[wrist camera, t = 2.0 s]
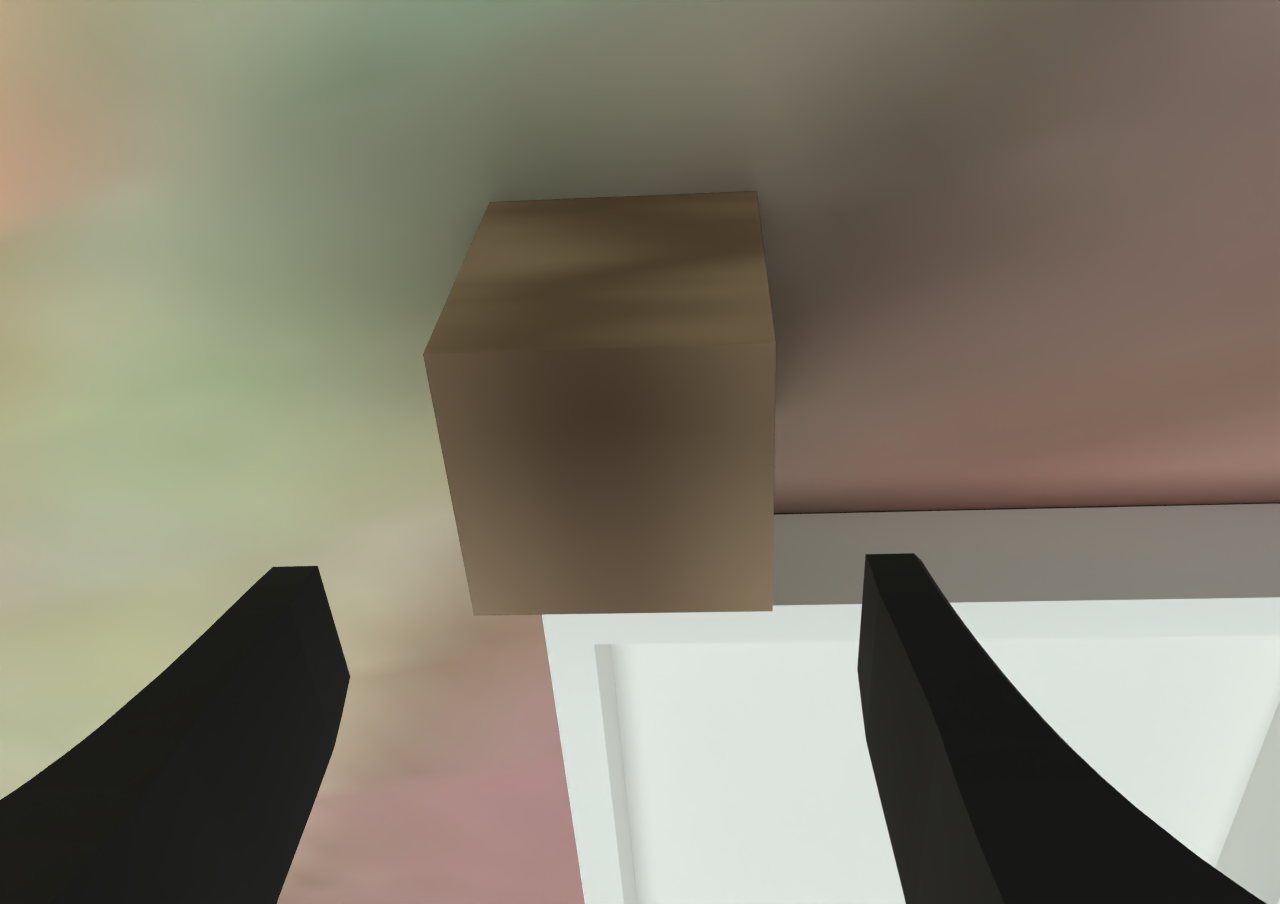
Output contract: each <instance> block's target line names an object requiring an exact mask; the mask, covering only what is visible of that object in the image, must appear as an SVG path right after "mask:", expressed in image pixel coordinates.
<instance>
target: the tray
mask: <svg viewBox="0 0 1280 904" xmlns="http://www.w3.org/2000/svg"><path fill="white" fill-rule="evenodd" d="M900 553H914V554H915V555H916V556H917V557H918V558H920V559H921V560H922V562H923V563H924V565H925V567H926V568H927V570H928V572H929V573H930V575H931V576H932V578H933V579H934V581H935V582H936V584H937V585H938V587H939V588H940V590H941V591H942V593H943V594H944V596H945V597H946V599H947V600H948V601H949V603H950V604H951V606H952V607H953V608H954V610H955V611H956V613H957V614H958V615H959V617H960V618H961V620H962V621H963V622H964V624H965V625H966V626H967V628H968V629H969V630H970V632H971V633H972V634H973V636H974V637H975V638H976V640H977V641H978V642H979V643H980V645H981V646H982V647H983V648H984V650H985V651H986V652H987V653H988V655H989V656H990V657H991V658H992V660H993V661H994V662H995V663H996V665H997V666H998V667H999V668H1000V670H1001V671H1002V672H1003V673H1004V675H1005V676H1006V677H1007V678H1008V679H1009V680H1010V682H1011V683H1012V684H1013V685H1014V686H1015V687H1016V689H1017V690H1018V691H1019V692H1020V693H1021V694H1022V696H1023V697H1024V698H1025V699H1026V700H1027V701H1028V702H1029V703H1030V704H1031V706H1032V707H1033V708H1034V709H1035V710H1036V711H1037V712H1038V713H1039V714H1040V715H1041V717H1042V718H1043V719H1044V720H1045V721H1046V722H1047V723H1048V724H1049V725H1050V726H1051V727H1052V728H1053V729H1054V730H1055V731H1056V733H1057V734H1058V735H1059V736H1060V737H1061V738H1062V739H1063V740H1064V741H1065V742H1066V743H1067V744H1068V745H1069V746H1070V747H1071V748H1072V749H1073V750H1074V751H1075V752H1076V753H1077V754H1078V755H1079V756H1080V757H1081V758H1083V759H1084V760H1085V761H1086V762H1087V763H1088V764H1089V765H1090V766H1091V767H1092V768H1093V769H1094V770H1095V771H1096V772H1097V773H1098V774H1099V775H1100V776H1102V777H1103V778H1104V779H1105V780H1106V781H1107V782H1108V783H1109V784H1110V785H1112V786H1113V787H1114V788H1115V789H1116V790H1117V791H1118V792H1120V793H1121V794H1122V795H1123V796H1124V797H1125V798H1126V799H1127V800H1129V801H1130V802H1131V803H1132V804H1133V805H1134V806H1135V807H1137V808H1138V809H1139V810H1140V811H1142V812H1143V813H1144V814H1145V815H1147V816H1148V817H1149V818H1151V819H1152V820H1153V821H1154V822H1156V823H1157V824H1158V825H1159V826H1161V827H1162V828H1163V829H1164V830H1166V831H1167V832H1168V833H1169V834H1171V835H1172V836H1173V837H1174V838H1176V839H1177V840H1178V841H1180V842H1181V843H1182V844H1183V845H1185V846H1186V847H1187V848H1188V849H1190V850H1191V851H1192V852H1193V853H1195V854H1196V855H1197V856H1199V857H1200V858H1201V859H1203V860H1204V861H1206V862H1207V863H1209V864H1210V865H1211V866H1213V867H1214V868H1216V869H1217V870H1218V871H1220V872H1221V873H1223V874H1224V875H1226V876H1227V877H1228V878H1230V879H1231V880H1233V881H1234V882H1236V883H1237V884H1238V885H1240V886H1241V887H1243V888H1244V889H1246V890H1247V891H1248V892H1250V893H1251V894H1253V895H1254V896H1256V897H1257V898H1259V899H1260V900H1262V901H1263V902H1265V903H1267V904H1280V504H1234V505H1189V506H1143V507H1098V508H1052V509H1007V510H961V511H916V512H870V513H824V514H779V515H774V534H773V611H757V612H687V613H616V614H546V615H542V618H543V625H544V631H545V638H546V645H547V652H548V658H549V665H550V672H551V678H552V685H553V692H554V699H555V705H556V712H557V719H558V725H559V732H560V739H561V746H562V752H563V759H564V766H565V773H566V779H567V786H568V793H569V799H570V806H571V813H572V820H573V826H574V833H575V840H576V846H577V853H578V860H579V867H580V873H581V880H582V887H583V893H584V900H585V904H906V903H905V898H904V894H903V890H902V886H901V882H900V878H899V874H898V869H897V865H896V861H895V857H894V853H893V849H892V845H891V841H890V837H889V833H888V829H887V825H886V821H885V817H884V813H883V809H882V805H881V801H880V797H879V792H878V788H877V784H876V780H875V776H874V772H873V768H872V764H871V759H870V755H869V751H868V747H867V742H866V736H865V729H864V721H863V713H862V705H861V697H860V688H859V680H858V671H857V665H858V652H859V638H860V624H861V610H862V596H863V582H864V568H865V555H866V554H900Z"/></svg>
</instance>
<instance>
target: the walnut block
mask: <svg viewBox="0 0 1280 904" xmlns="http://www.w3.org/2000/svg"><path fill="white" fill-rule="evenodd" d="M423 356H424V361H425V366H426V371H427V376H428V381H429V387H430V392H431V397H432V402H433V407H434V412H435V417H436V422H437V428H438V433H439V438H440V443H441V448H442V453H443V458H444V464H445V469H446V474H447V479H448V484H449V489H450V494H451V500H452V505H453V510H454V515H455V520H456V525H457V530H458V536H459V541H460V546H461V551H462V556H463V561H464V566H465V571H466V577H467V582H468V587H469V592H470V597H471V602H472V607H473V613H474V616H475V615H546V614H616V613H687V612H757V611H773V534H774V450H775V366H776V341H775V333H774V325H773V317H772V310H771V302H770V294H769V286H768V278H767V270H766V262H765V254H764V247H763V239H762V231H761V223H760V215H759V207H758V199H757V192H756V191H744V192H720V193H696V194H673V195H649V196H625V197H601V198H577V199H554V200H530V201H506V202H490V203H489V206H488V208H487V210H486V212H485V215H484V217H483V219H482V222H481V224H480V226H479V228H478V231H477V233H476V235H475V237H474V240H473V242H472V244H471V247H470V249H469V251H468V253H467V256H466V258H465V260H464V263H463V265H462V267H461V269H460V272H459V274H458V276H457V278H456V281H455V283H454V285H453V288H452V290H451V292H450V294H449V297H448V299H447V301H446V304H445V306H444V308H443V310H442V313H441V315H440V317H439V319H438V322H437V324H436V326H435V329H434V331H433V333H432V335H431V338H430V340H429V342H428V345H427V347H426V349H425V351H424V354H423Z"/></svg>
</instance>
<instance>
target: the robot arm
mask: <svg viewBox="0 0 1280 904" xmlns="http://www.w3.org/2000/svg"><path fill="white" fill-rule="evenodd" d="M857 671H858V680H859V688H860V697H861V705H862V713H863V721H864V729H865V736H866V742H867V747H868V751H869V755H870V759H871V764H872V768H873V772H874V776H875V780H876V784H877V788H878V792H879V797H880V801H881V805H882V809H883V813H884V817H885V821H886V825H887V829H888V833H889V837H890V841H891V845H892V849H893V853H894V857H895V861H896V865H897V869H898V874H899V878H900V882H901V886H902V890H903V894H904V898H905V903H906V904H1267V903H1265V902H1263V901H1262V900H1260V899H1259V898H1257V897H1256V896H1254V895H1253V894H1251V893H1250V892H1248V891H1247V890H1246V889H1244V888H1243V887H1241V886H1240V885H1238V884H1237V883H1236V882H1234V881H1233V880H1231V879H1230V878H1228V877H1227V876H1226V875H1224V874H1223V873H1221V872H1220V871H1218V870H1217V869H1216V868H1214V867H1213V866H1211V865H1210V864H1209V863H1207V862H1206V861H1204V860H1203V859H1201V858H1200V857H1199V856H1197V855H1196V854H1195V853H1193V852H1192V851H1191V850H1190V849H1188V848H1187V847H1186V846H1185V845H1183V844H1182V843H1181V842H1180V841H1178V840H1177V839H1176V838H1174V837H1173V836H1172V835H1171V834H1169V833H1168V832H1167V831H1166V830H1164V829H1163V828H1162V827H1161V826H1159V825H1158V824H1157V823H1156V822H1154V821H1153V820H1152V819H1151V818H1149V817H1148V816H1147V815H1145V814H1144V813H1143V812H1142V811H1140V810H1139V809H1138V808H1137V807H1135V806H1134V805H1133V804H1132V803H1131V802H1130V801H1129V800H1127V799H1126V798H1125V797H1124V796H1123V795H1122V794H1121V793H1120V792H1118V791H1117V790H1116V789H1115V788H1114V787H1113V786H1112V785H1110V784H1109V783H1108V782H1107V781H1106V780H1105V779H1104V778H1103V777H1102V776H1100V775H1099V774H1098V773H1097V772H1096V771H1095V770H1094V769H1093V768H1092V767H1091V766H1090V765H1089V764H1088V763H1087V762H1086V761H1085V760H1084V759H1083V758H1081V757H1080V756H1079V755H1078V754H1077V753H1076V752H1075V751H1074V750H1073V749H1072V748H1071V747H1070V746H1069V745H1068V744H1067V743H1066V742H1065V741H1064V740H1063V739H1062V738H1061V737H1060V736H1059V735H1058V734H1057V733H1056V731H1055V730H1054V729H1053V728H1052V727H1051V726H1050V725H1049V724H1048V723H1047V722H1046V721H1045V720H1044V719H1043V718H1042V717H1041V715H1040V714H1039V713H1038V712H1037V711H1036V710H1035V709H1034V708H1033V707H1032V706H1031V704H1030V703H1029V702H1028V701H1027V700H1026V699H1025V698H1024V697H1023V696H1022V694H1021V693H1020V692H1019V691H1018V690H1017V689H1016V687H1015V686H1014V685H1013V684H1012V683H1011V682H1010V680H1009V679H1008V678H1007V677H1006V676H1005V675H1004V673H1003V672H1002V671H1001V670H1000V668H999V667H998V666H997V665H996V663H995V662H994V661H993V660H992V658H991V657H990V656H989V655H988V653H987V652H986V651H985V650H984V648H983V647H982V646H981V645H980V643H979V642H978V641H977V640H976V638H975V637H974V636H973V634H972V633H971V632H970V630H969V629H968V628H967V626H966V625H965V624H964V622H963V621H962V620H961V618H960V617H959V615H958V614H957V613H956V611H955V610H954V608H953V607H952V606H951V604H950V603H949V601H948V600H947V599H946V597H945V596H944V594H943V593H942V591H941V590H940V588H939V587H938V585H937V584H936V582H935V581H934V579H933V578H932V576H931V575H930V573H929V572H928V570H927V568H926V567H925V565H924V563H923V562H922V560H921V559H920V558H918V557H917V556H916V555H915V554H914V553H900V554H866V555H865V568H864V582H863V596H862V610H861V624H860V638H859V652H858V665H857ZM349 679H350V675H349V671H348V668H347V664H346V661H345V658H344V654H343V651H342V647H341V644H340V641H339V637H338V634H337V630H336V627H335V624H334V620H333V617H332V613H331V610H330V607H329V603H328V600H327V596H326V593H325V590H324V586H323V583H322V579H321V576H320V573H319V569H318V566H295V567H273V568H271V569H270V570H269V571H268V572H267V573H266V574H265V575H264V576H263V577H262V578H260V579H259V580H258V581H257V582H256V583H255V584H254V585H253V586H252V587H251V588H250V589H249V590H248V591H247V592H246V593H245V594H244V595H243V596H242V597H241V598H240V599H239V600H238V601H237V602H236V603H235V604H234V605H233V606H232V607H230V608H229V609H228V610H227V611H226V612H225V613H224V614H223V615H222V616H221V617H220V618H219V619H218V620H217V621H216V622H215V623H214V624H213V625H212V626H211V627H210V628H209V629H208V630H207V631H206V632H205V633H204V634H203V635H202V636H201V637H199V638H198V639H197V640H196V641H195V642H194V643H193V644H192V645H191V646H190V647H189V648H188V649H187V650H186V651H185V652H184V653H183V654H181V655H180V656H179V657H178V658H177V659H176V660H175V661H174V662H173V663H172V664H171V665H170V666H169V667H168V668H167V669H166V670H165V671H163V672H162V673H161V674H160V675H159V676H158V677H157V678H156V679H154V680H153V681H152V682H151V683H150V684H149V685H147V686H146V687H145V688H144V689H143V690H142V691H141V692H139V693H138V694H137V695H136V696H135V697H134V698H132V699H131V700H130V701H129V702H128V703H127V704H126V705H124V706H123V707H122V708H121V709H120V710H119V711H118V712H116V713H115V714H114V715H113V716H112V717H111V718H109V719H108V720H107V721H106V722H105V723H104V724H103V725H101V726H100V727H99V728H98V729H96V730H95V731H94V732H93V733H91V734H90V735H89V736H88V737H87V738H85V739H84V740H83V741H81V742H80V743H79V744H78V745H76V746H75V747H74V748H72V749H71V750H70V751H69V752H67V753H66V754H65V755H63V756H62V757H61V758H59V759H58V760H56V761H55V762H54V763H52V764H51V765H50V766H48V767H47V768H46V769H44V770H43V771H42V772H40V773H39V774H37V775H36V776H35V777H33V778H32V779H31V780H29V781H28V782H26V783H25V784H24V785H22V786H21V787H19V788H18V789H16V790H15V791H13V792H12V793H10V794H9V795H7V796H6V797H4V798H3V799H1V800H0V904H277V901H278V898H279V895H280V892H281V890H282V887H283V884H284V882H285V879H286V876H287V874H288V871H289V868H290V866H291V863H292V860H293V858H294V855H295V852H296V850H297V847H298V844H299V842H300V839H301V836H302V834H303V831H304V828H305V826H306V823H307V820H308V818H309V815H310V812H311V810H312V807H313V804H314V802H315V799H316V796H317V793H318V791H319V788H320V785H321V782H322V780H323V777H324V774H325V771H326V769H327V766H328V763H329V760H330V758H331V755H332V752H333V749H334V746H335V742H336V738H337V734H338V730H339V725H340V721H341V717H342V713H343V708H344V703H345V698H346V694H347V689H348V684H349Z"/></svg>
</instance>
